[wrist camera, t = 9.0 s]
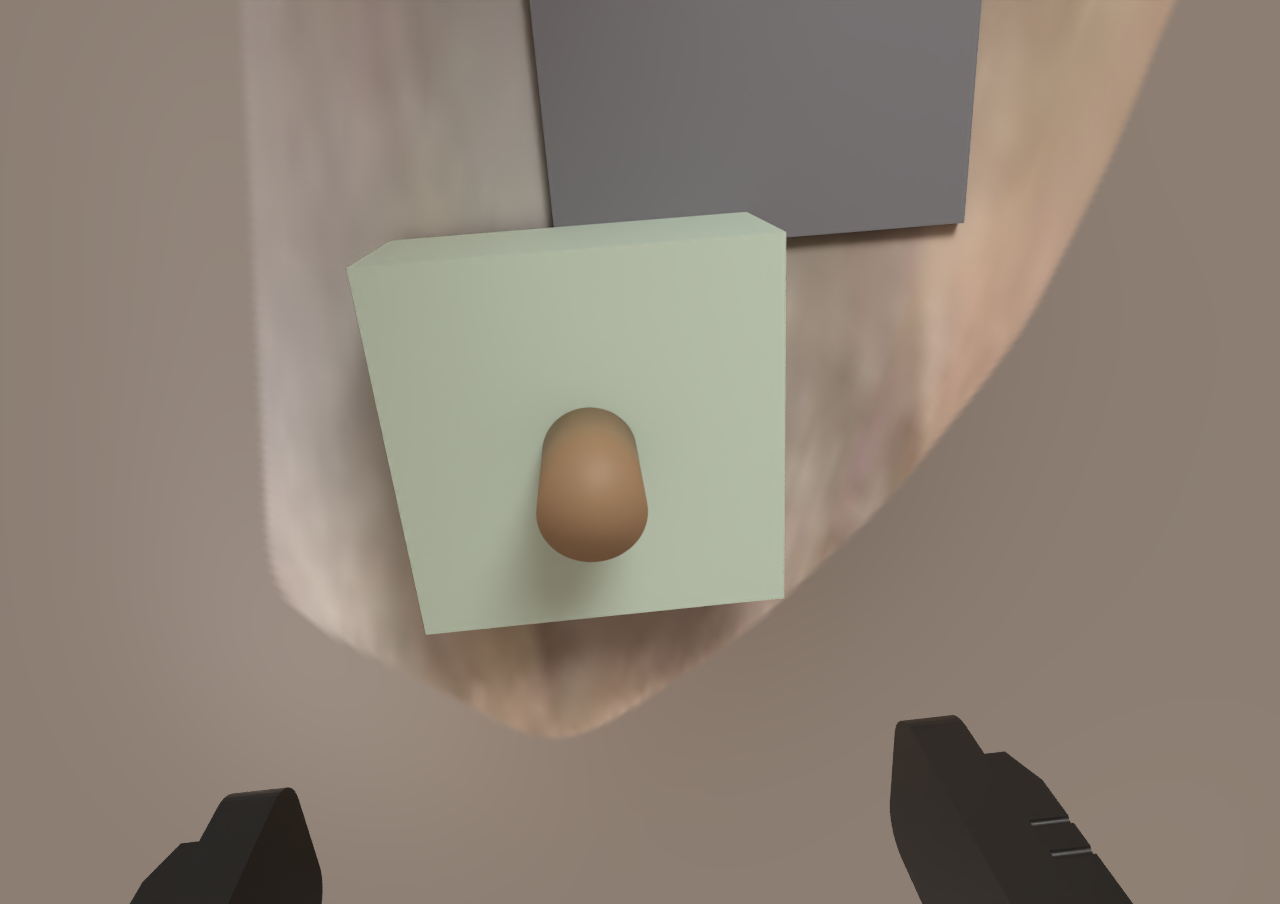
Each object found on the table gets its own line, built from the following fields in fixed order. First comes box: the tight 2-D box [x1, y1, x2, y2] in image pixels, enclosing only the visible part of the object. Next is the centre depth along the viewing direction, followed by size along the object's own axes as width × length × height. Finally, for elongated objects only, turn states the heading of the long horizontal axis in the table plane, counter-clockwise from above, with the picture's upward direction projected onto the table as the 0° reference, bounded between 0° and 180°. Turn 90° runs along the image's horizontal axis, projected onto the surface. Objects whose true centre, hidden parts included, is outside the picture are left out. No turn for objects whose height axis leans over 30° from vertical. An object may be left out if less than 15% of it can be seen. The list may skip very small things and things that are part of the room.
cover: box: [346, 212, 786, 635], centre depth 24 cm, size 12×12×9 cm
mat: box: [529, 0, 981, 237], centre depth 24 cm, size 14×14×1 cm
